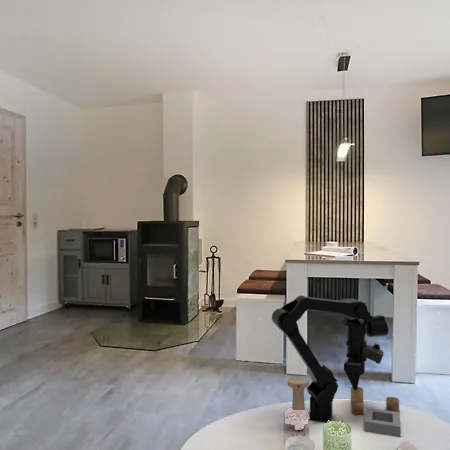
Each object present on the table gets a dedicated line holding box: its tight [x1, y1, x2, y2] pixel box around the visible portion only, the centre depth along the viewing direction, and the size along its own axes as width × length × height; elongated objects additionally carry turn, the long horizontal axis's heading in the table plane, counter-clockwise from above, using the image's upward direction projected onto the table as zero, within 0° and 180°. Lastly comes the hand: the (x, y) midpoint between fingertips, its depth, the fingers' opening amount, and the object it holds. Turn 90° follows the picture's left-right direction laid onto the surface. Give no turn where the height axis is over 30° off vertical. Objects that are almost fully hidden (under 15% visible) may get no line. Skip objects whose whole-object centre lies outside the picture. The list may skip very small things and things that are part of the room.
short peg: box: [385, 396, 400, 412], centre depth 142 cm, size 4×4×4 cm
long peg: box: [350, 386, 365, 416], centre depth 141 cm, size 4×4×8 cm
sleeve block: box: [364, 407, 401, 438], centre depth 131 cm, size 10×10×3 cm
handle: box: [287, 377, 310, 411], centre depth 131 cm, size 5×6×15 cm
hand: (356, 384), depth 141 cm, fingers open, 9 cm apart
